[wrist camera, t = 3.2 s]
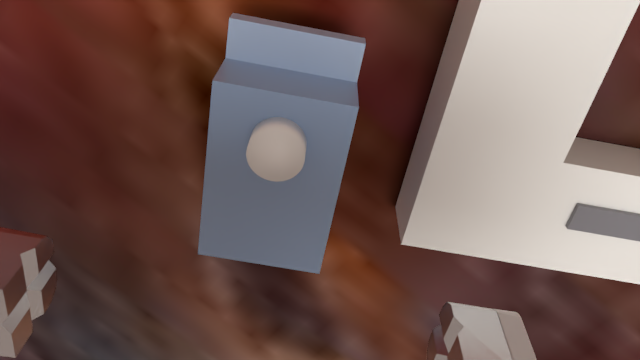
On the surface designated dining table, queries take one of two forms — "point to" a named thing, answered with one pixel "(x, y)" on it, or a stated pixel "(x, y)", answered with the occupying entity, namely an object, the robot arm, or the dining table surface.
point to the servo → (278, 142)
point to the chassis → (525, 142)
